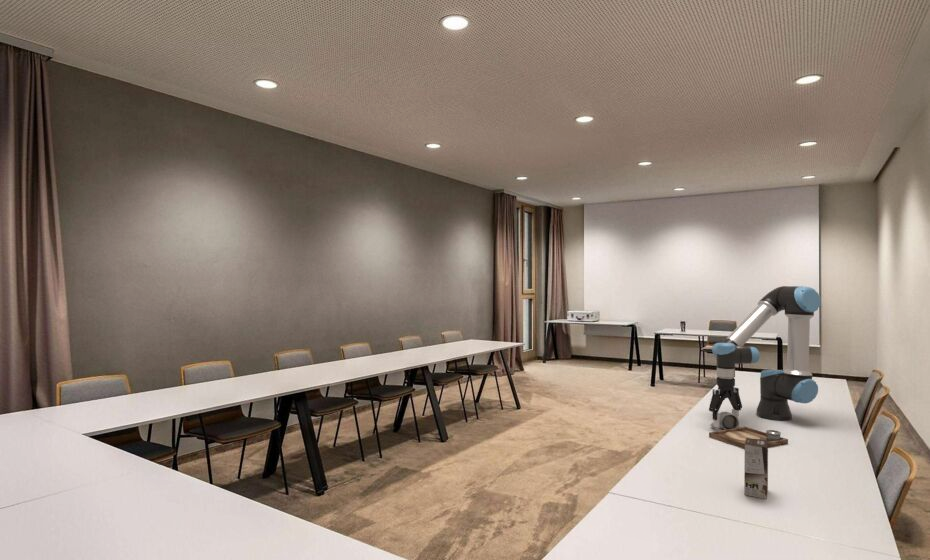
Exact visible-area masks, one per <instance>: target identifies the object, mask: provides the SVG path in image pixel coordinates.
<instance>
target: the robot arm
mask: <svg viewBox="0 0 930 560" xmlns="http://www.w3.org/2000/svg"><path fill="white" fill-rule="evenodd" d="M821 303H822V301H821V295H820V294H819V292H818V291H817V290H816V289H814V288H813V287H810V286H803V285H801V286H799V285H798V286H797V285H796V286H795V285H793V286H791V285H790V286H789V285H783V286H782V285H781V286H779V287H776V288H774V289H772V290H770V291H769V292H767V293H766V294H765V295H764V296H762V298H761V299H759V301H758V302H757V306H756V307H755V308H754V309H753V310H752V311H751V312H750V313H749V315H747V316H746V317H745V318H744V319H743V321H742V322H741V323H740V324H739V325H738V326H737V327H736V328H735V329H734V330H733V331H732V332H731V333H730V334H729V335H728V336H727V337H726V338H725V339H724V340H723V341H722V342H716V343H714V344H713V346H712V349H711V350H712V351H711V352H712V354H713V356H714V357H715V358H716V386H717V389H714V388H713V389H712V396H711V399H710V404H709V407H708V411H709V412H711V413H712V420H713V421H712V423H713V426H714V427H717V429H720V428H719V413H720V412H719V411H720V409H721V406H722V404H723V402H724V401H725V400H726V399H728V400H729V401H728V402H729V403H730V405H731V406H732V409H731V414H733V415H735V416H736V417H737V418H738V419H739V414H740V413H739V411H741V410H742V408H743V404H742V400H741V397H740V392H739V390H740V389H739V387H735V386H736V379H735V378H736V365H738V364H739V365H740V364H742V365H743V364H744V365H745V364H748V365H751V364H755V363H758V361H760V351H759V349H757V347H754V346H744V345H745V344H746V343H747V342H748V341H749V340H750V339H751V338H752V337H753V336H754V335H755V333H757V332H758V330H759V329H761V327H763V326H764V325H765V324H766V322H767V321H768V320H769V319H770V318H771V317H772V316H774V317H775V316H777V314H778V313H780V312H782V311H784V315H785V317H787V355H786V356H787V357H786V358H787V359H786V360H787V361H786V368H785V369H766V370H761V372H760V378H759V381H760V383H759V384H760V385H759V387H760V401H758V406H757V408H756V412H755V413H756V414H755V415H756V416H758V417H760V418H763V419H766V420H774V421H789V420H792V419H793V415H792V414H793V413H792V411H791V408H790V405H789V402H788V401H792V402H795V403H799V404H809V403H811V402H813V401H814V400H815V399H816V398H817V395H818V393H819V386H818V383H817V382H816V381H815V380H814V379H813V373H811V372H810V371H809V370H810V369H809V367H810V363H809V362H810V329H811V328H810V327H811V326H810V322H811V319H812V318H814V315H815V312H817V311H819V308H820V307H821Z"/></svg>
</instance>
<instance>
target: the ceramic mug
mask: <svg viewBox="0 0 930 560" xmlns="http://www.w3.org/2000/svg"><path fill="white" fill-rule="evenodd" d="M718 413H719V428H717V427H714V426H713V422H712V423H711V424H710V427H711V429H713V430H717V429H720V428H722V429H723V430H728V429H734V428H739V425H740V422H739V421H740V420H739V417H738V418H737V417H736V416H735V415H733V414H732V412H731V413H730V412H728V411H721V412H718Z"/></svg>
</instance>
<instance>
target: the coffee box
mask: <svg viewBox="0 0 930 560" xmlns="http://www.w3.org/2000/svg"><path fill="white" fill-rule="evenodd" d="M743 476H744V479H743V481H744V493H743V494H744V495H745V496H748V497H755V498H759V499H763V498H764V500H767V498H768V491H769V490H768V489H769V448H768V441H767V440H761V439H751V438H746V441H745V449H744V475H743Z"/></svg>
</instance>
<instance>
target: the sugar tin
mask: <svg viewBox="0 0 930 560" xmlns="http://www.w3.org/2000/svg"><path fill="white" fill-rule="evenodd" d="M765 433H766V440H767V441H769V442H771V441H776V440H780V437H781V431H779V430H774V429H773V430H772V429H769V430H768V429H767V430H766V431H765Z"/></svg>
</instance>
